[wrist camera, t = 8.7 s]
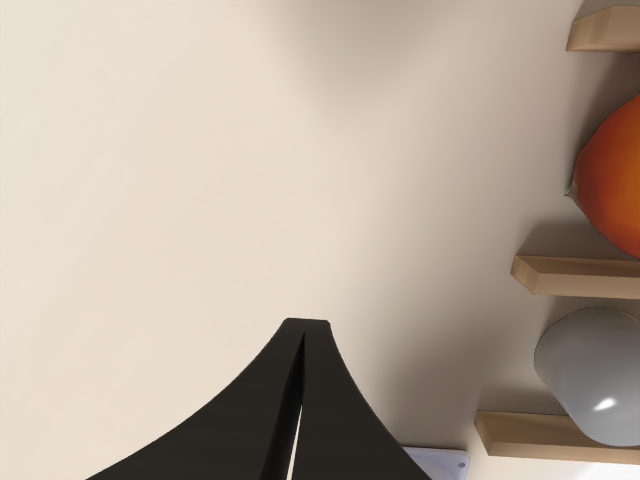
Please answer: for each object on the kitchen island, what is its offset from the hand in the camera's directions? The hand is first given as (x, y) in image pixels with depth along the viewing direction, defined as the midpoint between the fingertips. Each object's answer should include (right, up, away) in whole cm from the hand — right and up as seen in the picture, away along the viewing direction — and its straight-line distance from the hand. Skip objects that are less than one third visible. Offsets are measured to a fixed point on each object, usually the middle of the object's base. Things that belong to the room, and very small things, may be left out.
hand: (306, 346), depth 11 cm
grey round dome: (+17, -4, +11) cm, 21 cm away
